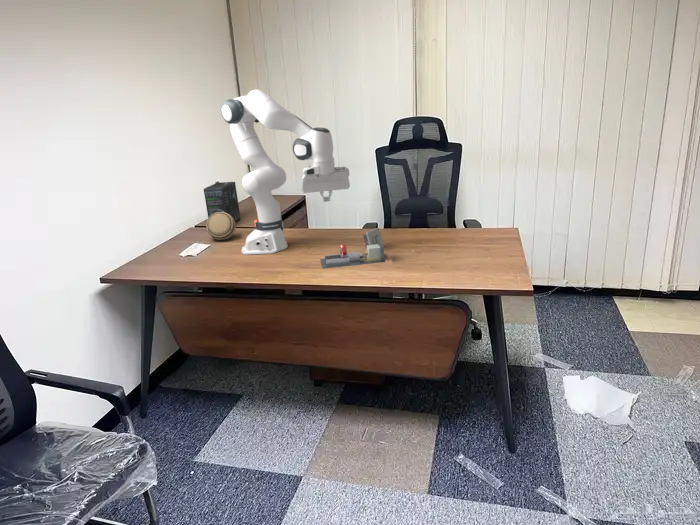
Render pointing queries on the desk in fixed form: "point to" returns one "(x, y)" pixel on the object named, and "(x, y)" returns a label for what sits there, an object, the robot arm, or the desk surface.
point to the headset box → (222, 199)
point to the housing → (373, 252)
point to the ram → (350, 254)
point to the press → (336, 261)
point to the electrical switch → (373, 237)
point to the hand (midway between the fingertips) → (326, 201)
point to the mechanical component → (220, 225)
